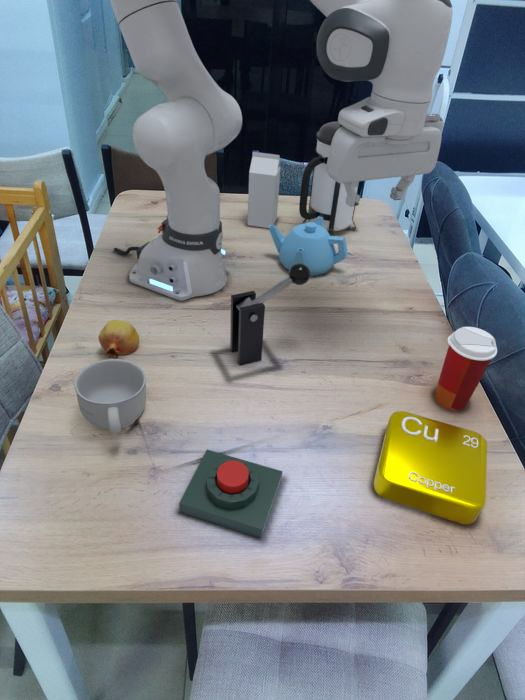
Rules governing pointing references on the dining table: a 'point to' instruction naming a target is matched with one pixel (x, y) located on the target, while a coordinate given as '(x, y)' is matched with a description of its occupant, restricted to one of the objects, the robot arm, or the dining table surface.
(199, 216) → the robot arm
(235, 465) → the button
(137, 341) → the fruit
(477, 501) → the element tile
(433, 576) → the dining table surface
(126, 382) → the teacup
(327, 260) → the teapot
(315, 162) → the coffee press
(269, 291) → the lever
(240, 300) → the bracket
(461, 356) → the paper cup
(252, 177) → the milk carton
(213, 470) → the box
